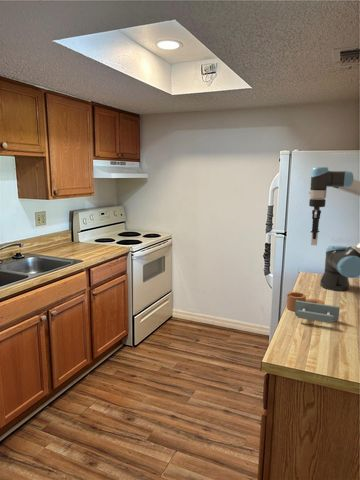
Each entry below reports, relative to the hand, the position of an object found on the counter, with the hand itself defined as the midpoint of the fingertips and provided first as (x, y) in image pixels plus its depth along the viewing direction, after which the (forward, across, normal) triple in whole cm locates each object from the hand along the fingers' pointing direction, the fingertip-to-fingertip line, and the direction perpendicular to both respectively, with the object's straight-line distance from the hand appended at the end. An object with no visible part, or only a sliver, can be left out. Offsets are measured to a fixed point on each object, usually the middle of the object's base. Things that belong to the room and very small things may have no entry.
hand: (314, 244), depth 184 cm
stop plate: (+26, +35, +5) cm, 44 cm away
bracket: (+27, +21, 0) cm, 34 cm away
